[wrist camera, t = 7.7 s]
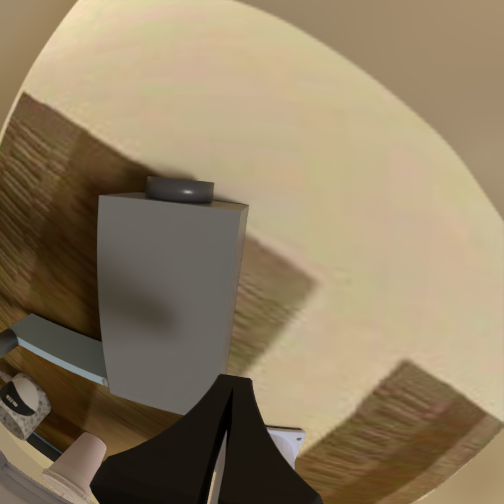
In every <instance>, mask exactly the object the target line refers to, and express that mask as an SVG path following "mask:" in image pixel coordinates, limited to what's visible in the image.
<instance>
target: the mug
mask: <svg viewBox="0 0 504 504" xmlns="http://www.w3.org/2000/svg"><path fill="white" fill-rule="evenodd" d="M0 378H1V379H3V380H4V381H5V382H6V384H5V385H4V386H3V387H2V388H1V389H0V421H1V423H2V424H3V425H4V426H5V427H6V428H7V429H8V430H9V431H10V432H11V433H12V434H13V435H15V436H16V437H17V438H19V439H21V440H23V441H25V440H26V439H27V438H28V437H29V436H30V434H31V433H32V432H33V431H34V430H35V428H36V427H37V426H38V425H39V424H40V423H41V421H42V420H43V419H44V418H45V417H46V416H47V415H48V413H49V412H50V411H51V403H50V401H49V399H48V397H47V395H46V394H45V392H44V391H43V390H42V388H41V387H40V386H39V385H38V384H37V383H36V382H35V381H34V380H33V379H32V378H31V377H29V376H28V375H26V374H24V373H18V374H17V375H16V376H15V377H13V378H12V377H11V376H10V375H8V374H6V373H4V372H2V371H1V370H0Z"/></svg>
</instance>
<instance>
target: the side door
mask: <svg viewBox="0 0 504 504" xmlns="http://www.w3.org/2000/svg"><path fill="white" fill-rule="evenodd" d="M18 344H20V345H21V346H23V347H25V348H27V349H28V350H30V351H32V352H34V353H36V354H37V355H39V356H41V357H43V358H45V359H47V360H49V361H51V362H53V363H55V364H57V365H59V366H61V367H63V368H65V369H67V370H69V371H71V372H74V373H76V374H78V375H80V376H83V377H85V378H87V379H90V380H92V381H94V382H97V383H99V384H102V385H104V386H106V387H109V383H108V377H107V371H106V365H105V358H104V351H103V343H102V342H100V341H97V340H94V339H92V338H89V337H86V336H84V335H81V334H79V333H76V332H74V331H71V330H69V329H66V328H64V327H62V326H59V325H57V324H54V323H52V322H50V321H48V320H45V319H43V318H41V317H39V316H37V315H35V314H32V313H31V314H30V315H28V316H27V317H25V318H23V319H22V320H20V321H19V322H17V323H15V324H14V325H12V326H11V327H9V328H8V329H6V330H5V331H3V332H1V333H0V358H2V357H3V356H4V355H6V354H7V353H8V352H10V351H11V350H12V349H14V348H15V347H16V346H18Z"/></svg>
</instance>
